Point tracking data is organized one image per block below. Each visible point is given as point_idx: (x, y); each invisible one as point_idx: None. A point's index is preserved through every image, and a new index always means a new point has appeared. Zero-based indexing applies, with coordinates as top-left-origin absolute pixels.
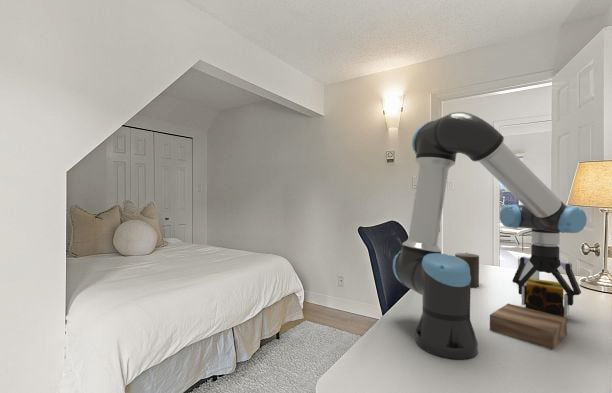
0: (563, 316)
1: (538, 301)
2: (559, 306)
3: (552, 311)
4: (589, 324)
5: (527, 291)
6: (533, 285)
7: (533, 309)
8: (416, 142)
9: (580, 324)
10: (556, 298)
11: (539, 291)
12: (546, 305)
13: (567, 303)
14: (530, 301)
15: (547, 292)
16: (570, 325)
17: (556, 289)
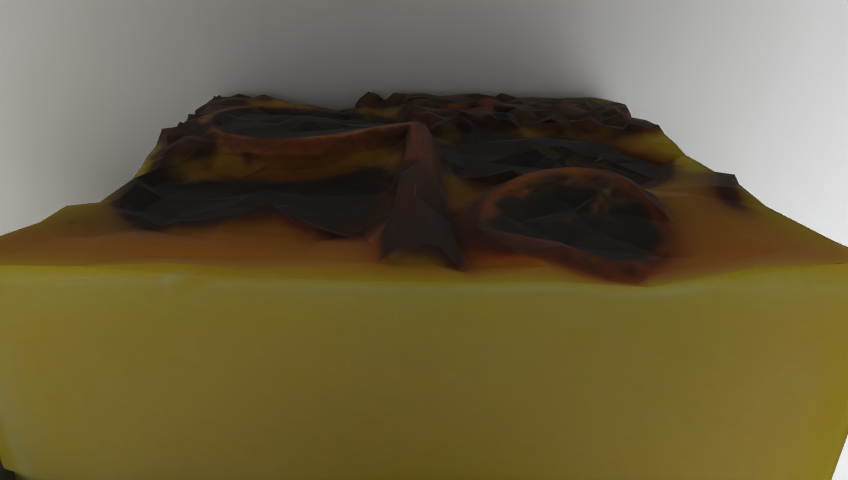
0: (204, 107)
1: (502, 158)
2: (209, 138)
3: (319, 119)
4: (5, 212)
5: (742, 191)
6: (692, 277)
7: (545, 109)
8: None
9: (74, 146)
10: (217, 205)
11: (517, 225)
12: (388, 124)
13: None
14: (611, 156)
15: (359, 237)
16: (152, 25)
17: (131, 257)
